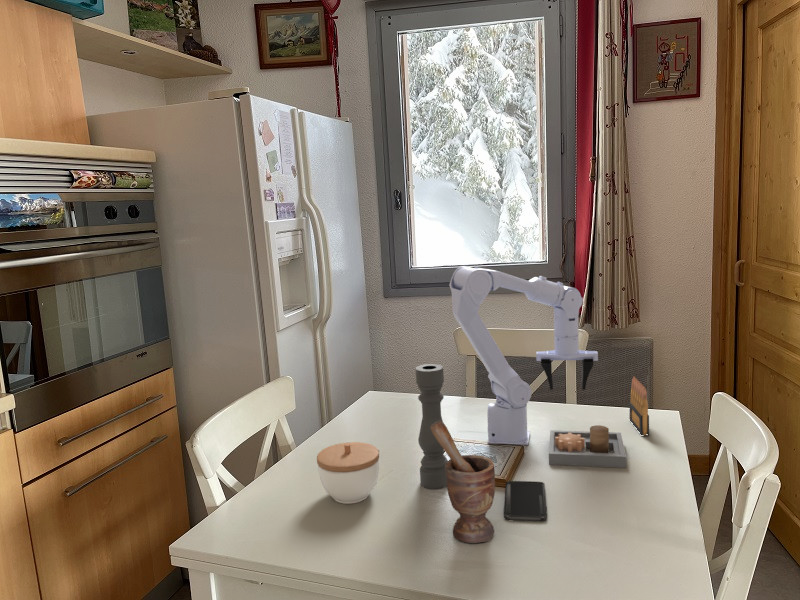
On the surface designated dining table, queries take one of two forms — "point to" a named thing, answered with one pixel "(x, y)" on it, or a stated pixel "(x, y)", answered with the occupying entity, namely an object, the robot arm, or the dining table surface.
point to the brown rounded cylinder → (599, 439)
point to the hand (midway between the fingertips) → (567, 388)
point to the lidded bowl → (349, 471)
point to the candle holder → (430, 397)
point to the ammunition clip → (639, 407)
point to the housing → (584, 450)
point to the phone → (525, 501)
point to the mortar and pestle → (468, 488)
